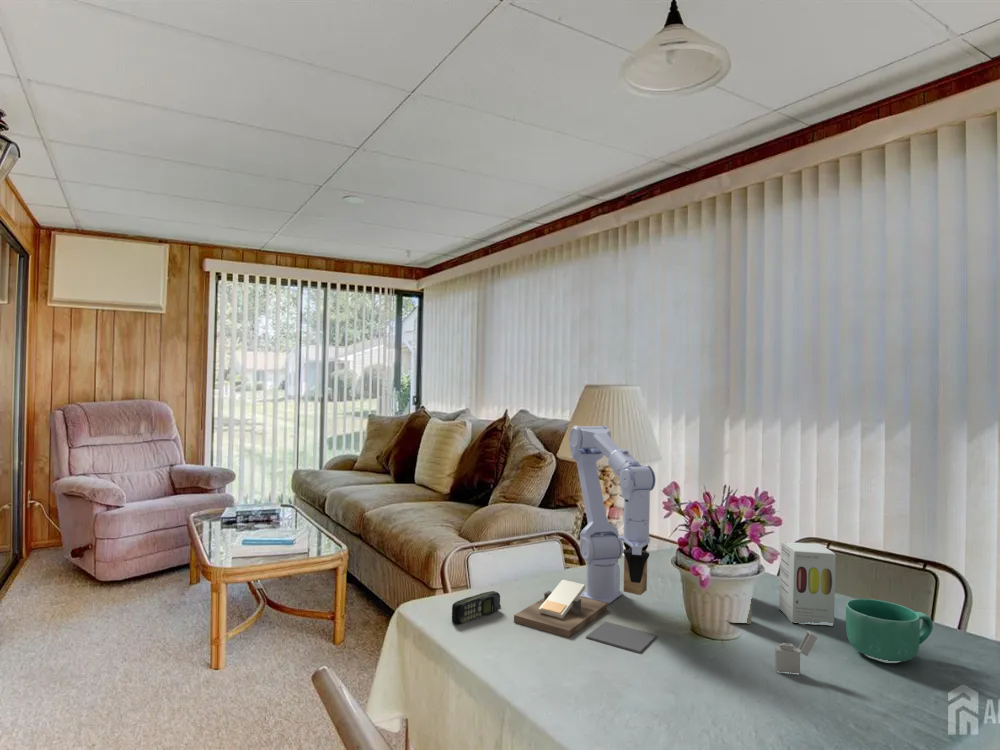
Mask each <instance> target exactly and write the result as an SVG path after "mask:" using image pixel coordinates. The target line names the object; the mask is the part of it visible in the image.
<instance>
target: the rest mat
mask: <svg viewBox="0 0 1000 750" xmlns="http://www.w3.org/2000/svg"><path fill="white" fill-rule="evenodd" d="M657 637H658V634H656V633H652V632H648V631H644V630H640V629H636V628H632V627H628V626H625V625H620V624H617V623H613V622H610V621H604V622H603V623H601V624H600V625H599V626H598V627H596V628H595V629H593V630H592V631H591V632H590V633H588V634H587V635H586V636H585V638H586V639H588V640H590V641H594V642H598V643H599V642H600V643H601V644H605V645H610V646H612V647H616V648H620V649H623V650H627V651H631V652H634V653H638V654H641V653H642V652H643V651H644V650H646V648H647V647H648V646H649V645H650V644H651V643H652V642H653V641H654V640H655V639H656V638H657Z"/></svg>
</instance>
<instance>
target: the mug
mask: <svg viewBox="0 0 1000 750" xmlns="http://www.w3.org/2000/svg"><path fill="white" fill-rule="evenodd" d="M920 620H921V621H922V623H921V625H920ZM933 624H934V623H933V621H932V619H931V617H930V616H929V615H927V614H926V613H924V612H921V611H914V610H913V609H911V608H909V607H906V606H904V605H900V604H897V603H894V602H890V601H885V600H879V599H872V598H871V599H869V598H854V599H850V600H848V601H847V602H846V603H845V629H846V630H845V631H846V636H847V640H848V641H849V644H850V645H851V646H852V647H853V648H854V649H855V650H856V651H858V652H859V653H861V654H862V653H863V654H866V655H868V656H871V657H874V658H878V659H882V660H888V661H904V662H907V660H908V661H910V660H912V659H913V658H915V657H916V655H917V654H918V652H919V648H920V645H921V644H922V643H924V642H925V641H927V639H928V638H929V637H930V635H931V634H932V632H933V628H934V625H933ZM920 626H921V627H920ZM863 654H862V655H863Z"/></svg>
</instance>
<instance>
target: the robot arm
mask: <svg viewBox="0 0 1000 750" xmlns="http://www.w3.org/2000/svg"><path fill="white" fill-rule="evenodd" d="M568 444H569V448H570V453H571V459H572V460H574V461H576V465H577V466H576V467H577V472H578V476H579V477H578V478H579V481H580V488H581V494H582V499H583V504H584V508H585V510H584V511H585V515H586V520H587V521H586V522H587V524H586V525H585V527H583V529H582V530H581V532H580V533H579V541H580V542H579V543H580V544H579V550H580V551H579V552H580V555H581V558H582V559H583V560H584V561H585V562H586V584H585V589H586V590H585V591H583V592H582V593H581V595H580V597H584V598H588V599H592V600H596V601H601V602H605V603H608V605H609V604H611V603H612V602H614V601H615V600H616V599H617V598H619V597H620V596H622V595H623V594H624V591H621V590H620V588H621V586H620V585H621V567H620V565H619V560H620V559H621V558H622V556H624V555H625V557H626V560H627V563H628V567H629V574H630V580H631V582H635V583H640V582H641V579H642V575H643V569H644V566H645V563H646V561H647V562H648V560H649V557H650V552H648V551H647V549H648V548H649V544H650V542H651V538H650V512H651V511H650V508H651V507H650V505H651V504H650V503H651V502H650V501H651V491H653V490H654V489H655V486H656V474H655V471H654V470H653V468H652V467H651V466H650V465H647V464H645V465H644V464H641V463H640V462H639V461H638V460H637V459H635V457H634V456H632V454H630V450H628V449H627V448H619V447H618V445H617V444H616V443H615V441H614V440H613V439H612V432H611V429H609V428H608V427H607V426H606V425H595V426H593V425H587V426H586V425H585V426H584V425H573V426H572V427H571V429H570V432H569V437H568ZM604 456H605V457H606V458H607V459H608V460H607V462H608V466H609V467H610V469H612V471H613V472H614V473H615V474H616V476H617V477H618V478H619V484H620V488H621V496H622V498H623V501H624V502H623V535H620V534H619V530H618V528H617V527H616V526H615V525H614V524H612V523H610V522H609V521H608V517H607V513H606V507H605V502H604V497H603V492H602V488H601V483H600V476H599V472H598V466H597V462H598V461H599V460H601V459H603V457H604ZM630 547H632V550H629V549H630ZM642 550H644V551H647V552H642ZM623 554H624V555H623Z"/></svg>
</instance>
